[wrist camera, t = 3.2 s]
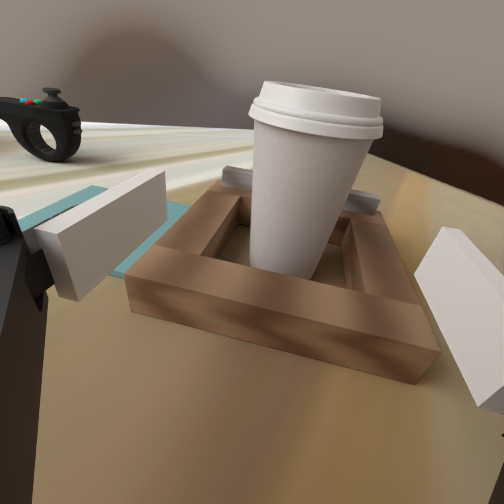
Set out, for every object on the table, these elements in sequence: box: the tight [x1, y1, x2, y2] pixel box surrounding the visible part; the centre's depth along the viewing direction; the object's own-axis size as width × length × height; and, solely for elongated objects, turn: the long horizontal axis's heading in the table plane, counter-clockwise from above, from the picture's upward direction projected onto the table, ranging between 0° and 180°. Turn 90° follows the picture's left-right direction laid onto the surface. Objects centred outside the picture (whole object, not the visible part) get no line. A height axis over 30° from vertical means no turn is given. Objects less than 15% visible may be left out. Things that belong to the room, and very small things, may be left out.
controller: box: [0, 88, 82, 161], centre depth 40 cm, size 4×12×10 cm, turn 83°
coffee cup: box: [249, 81, 383, 280], centre depth 23 cm, size 10×10×15 cm
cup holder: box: [124, 166, 442, 385], centre depth 25 cm, size 20×20×6 cm
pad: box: [17, 185, 191, 278], centre depth 29 cm, size 14×14×1 cm
